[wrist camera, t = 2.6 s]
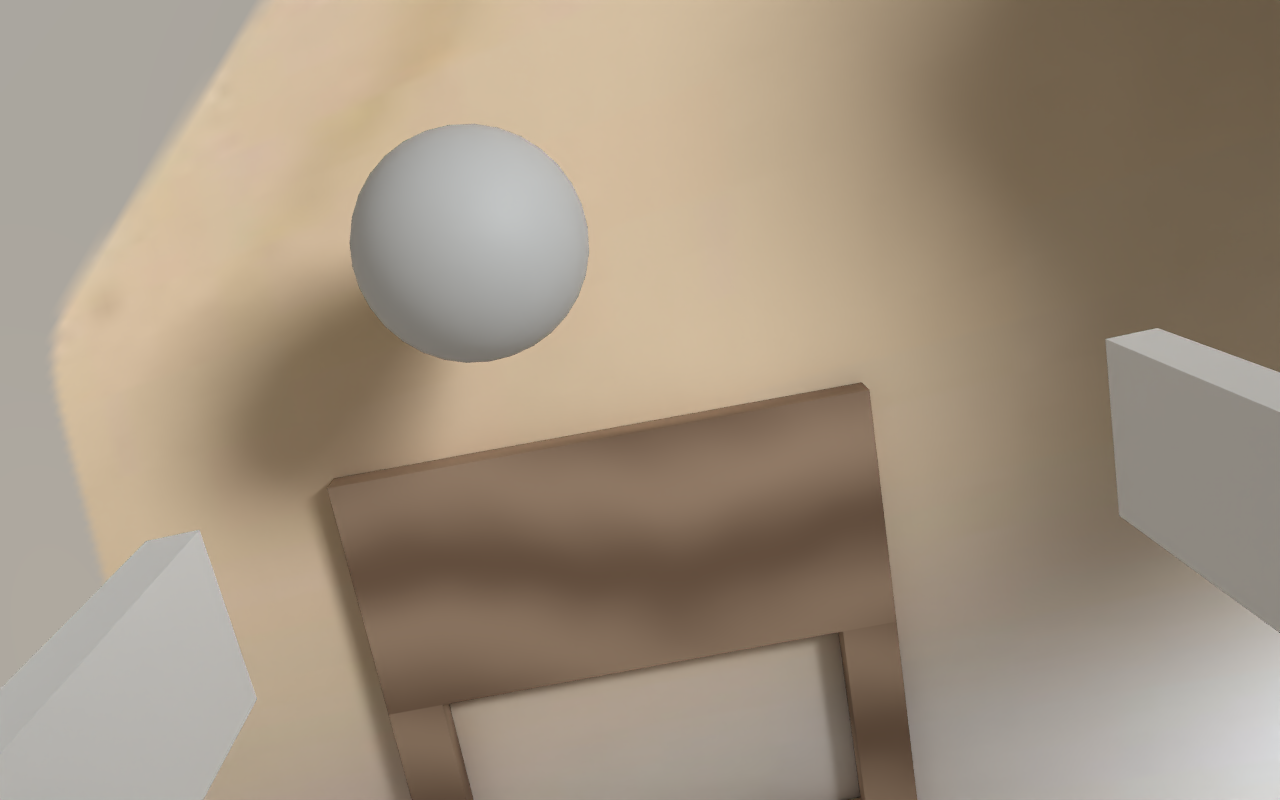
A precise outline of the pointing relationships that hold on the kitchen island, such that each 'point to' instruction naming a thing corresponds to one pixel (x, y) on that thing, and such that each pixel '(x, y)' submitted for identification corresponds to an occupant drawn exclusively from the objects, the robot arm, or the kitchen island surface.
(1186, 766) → the kitchen island surface
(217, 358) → the kitchen island surface
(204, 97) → the kitchen island surface
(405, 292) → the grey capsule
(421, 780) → the brown wooden frame
